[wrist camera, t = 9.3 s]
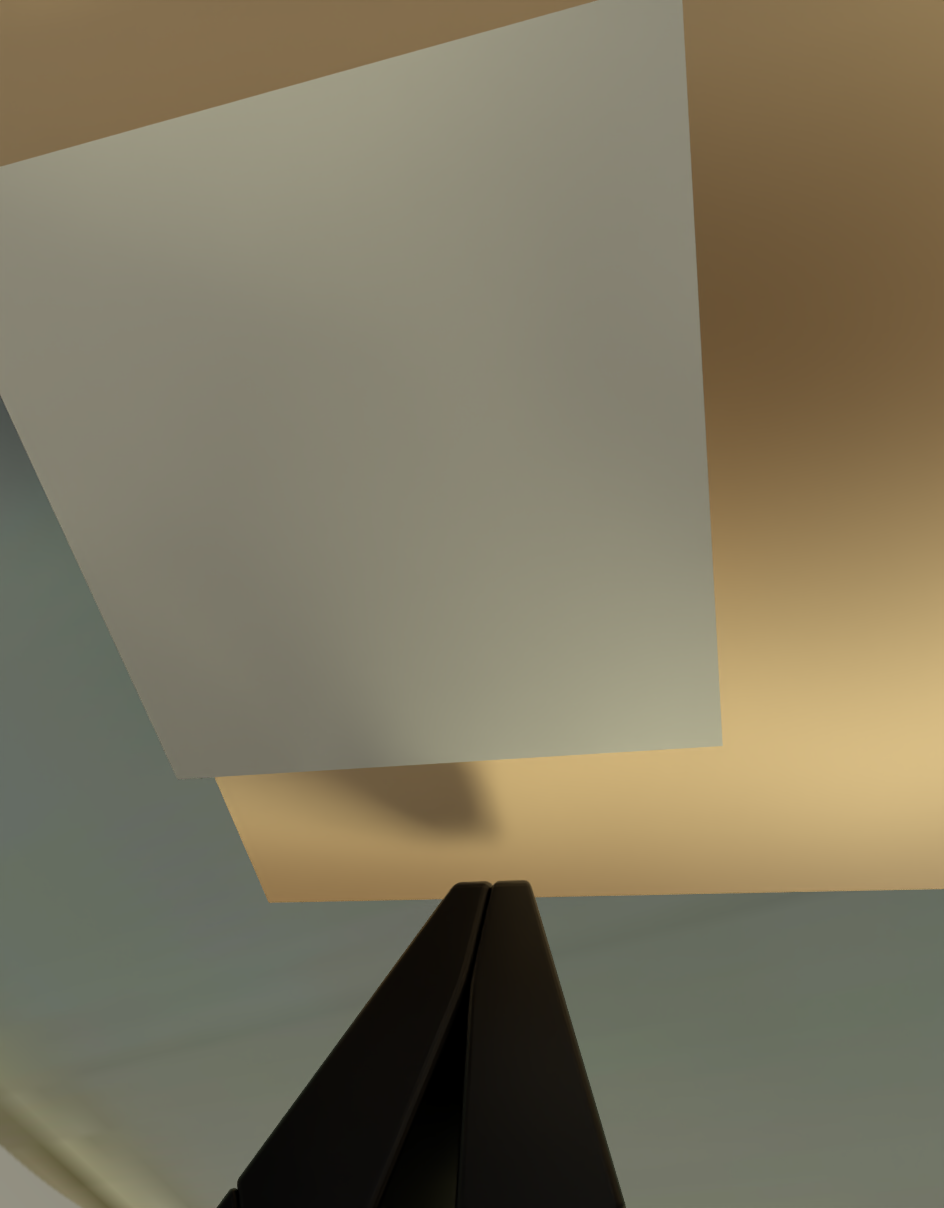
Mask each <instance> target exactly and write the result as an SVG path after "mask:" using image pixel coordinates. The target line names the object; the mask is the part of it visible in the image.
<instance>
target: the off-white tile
mask: <svg viewBox="0 0 944 1208" xmlns="http://www.w3.org/2000/svg"><path fill="white" fill-rule="evenodd" d="M0 396H1V398H2V400H3V402H4V404H5V407H6V409H7V411H8V413H9V415H10V417H11V420H12V422H13V424H14V426H15V428H16V430H17V433H18V435H19V437H20V439H21V441H22V443H23V446H24V448H25V450H26V452H27V454H28V456H29V459H30V461H31V463H32V465H33V467H34V469H35V472H36V474H37V476H38V478H39V480H40V482H41V485H42V487H43V489H44V491H45V493H46V495H47V498H48V500H49V502H50V504H51V506H52V508H53V511H54V513H55V515H56V517H57V519H58V521H59V524H60V526H61V528H62V530H63V532H64V534H65V537H66V539H67V541H68V543H69V545H70V547H71V550H72V552H73V554H74V556H75V558H76V560H77V563H78V565H79V567H80V569H81V571H82V573H83V576H84V578H85V580H86V582H87V584H88V586H89V589H90V591H91V593H92V595H93V597H94V599H95V602H96V604H97V606H98V608H99V610H100V612H101V615H102V617H103V619H104V621H105V623H106V625H107V628H108V630H109V632H110V634H111V636H112V638H113V641H114V643H115V645H116V647H117V649H118V651H119V654H120V656H121V658H122V660H123V662H124V664H125V667H126V669H127V671H128V673H129V675H130V677H131V680H132V682H133V684H134V686H135V688H136V690H137V693H138V695H139V697H140V699H141V701H142V703H143V706H144V708H145V710H146V712H147V714H148V716H149V719H150V721H151V723H152V725H153V727H154V729H155V732H156V734H157V736H158V738H159V740H160V742H161V745H162V747H163V749H164V751H165V753H166V756H167V758H168V760H169V762H170V764H171V766H172V769H173V771H174V773H175V775H176V777H177V779H193V778H209V777H225V776H242V775H258V774H274V773H291V772H307V771H323V770H340V769H356V768H372V767H389V766H405V765H421V764H437V763H454V762H470V761H486V760H503V759H519V758H535V757H552V756H568V755H584V754H601V753H617V752H633V751H649V750H666V749H682V748H698V747H715V746H723V743H722V724H721V706H720V688H719V669H718V651H717V632H716V614H715V595H714V577H713V558H712V540H711V521H710V503H709V484H708V466H707V447H706V429H705V410H704V392H703V373H702V355H701V336H700V318H699V299H698V281H697V263H696V244H695V226H694V207H693V189H692V170H691V152H690V133H689V115H688V96H687V78H686V59H685V41H684V22H683V4H682V0H597V1H593V2H590V3H586V4H583V5H579V6H575V7H572V8H568V9H565V10H561V11H558V12H554V13H550V14H547V15H543V16H540V17H536V18H532V19H529V20H525V21H522V22H518V23H514V24H511V25H507V26H504V27H500V28H496V29H493V30H489V31H486V32H482V33H479V34H475V35H471V36H468V37H464V38H461V39H457V40H453V41H450V42H446V43H443V44H439V45H435V46H432V47H428V48H425V49H421V50H417V51H414V52H410V53H407V54H403V55H400V56H396V57H392V58H389V59H385V60H382V61H378V62H374V63H371V64H367V65H364V66H360V67H356V68H353V69H349V70H346V71H342V72H339V73H335V74H331V75H328V76H324V77H321V78H317V79H313V80H310V81H306V82H303V83H299V84H295V85H292V86H288V87H285V88H281V89H277V90H274V91H270V92H267V93H263V94H260V95H256V96H252V97H249V98H245V99H242V100H238V101H234V102H231V103H227V104H224V105H220V106H216V107H213V108H209V109H206V110H202V111H198V112H195V113H191V114H188V115H184V116H181V117H177V118H173V119H170V120H166V121H163V122H159V123H155V124H152V125H148V126H145V127H141V128H137V129H134V130H130V131H127V132H123V133H120V134H116V135H112V136H109V137H105V138H102V139H98V140H94V141H91V142H87V143H84V144H80V145H76V146H73V147H69V148H66V149H62V150H58V151H55V152H51V153H48V154H44V155H41V156H37V157H33V158H30V159H26V160H23V161H19V162H15V163H12V164H8V165H5V166H1V167H0Z"/></svg>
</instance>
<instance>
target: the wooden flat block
mask: <svg viewBox="0 0 944 1208" xmlns="http://www.w3.org/2000/svg"><path fill="white" fill-rule="evenodd" d="M593 1H597V0H0V167H1V166H5V165H8V164H12V163H15V162H19V161H23V160H26V159H30V158H33V157H37V156H41V155H44V154H48V153H51V152H55V151H58V150H62V149H66V148H69V147H73V146H76V145H80V144H84V143H87V142H91V141H94V140H98V139H102V138H105V137H109V136H112V135H116V134H120V133H123V132H127V131H130V130H134V129H137V128H141V127H145V126H148V125H152V124H155V123H159V122H163V121H166V120H170V119H173V118H177V117H181V116H184V115H188V114H191V113H195V112H198V111H202V110H206V109H209V108H213V107H216V106H220V105H224V104H227V103H231V102H234V101H238V100H242V99H245V98H249V97H252V96H256V95H260V94H263V93H267V92H270V91H274V90H277V89H281V88H285V87H288V86H292V85H295V84H299V83H303V82H306V81H310V80H313V79H317V78H321V77H324V76H328V75H331V74H335V73H339V72H342V71H346V70H349V69H353V68H356V67H360V66H364V65H367V64H371V63H374V62H378V61H382V60H385V59H389V58H392V57H396V56H400V55H403V54H407V53H410V52H414V51H417V50H421V49H425V48H428V47H432V46H435V45H439V44H443V43H446V42H450V41H453V40H457V39H461V38H464V37H468V36H471V35H475V34H479V33H482V32H486V31H489V30H493V29H496V28H500V27H504V26H507V25H511V24H514V23H518V22H522V21H525V20H529V19H532V18H536V17H540V16H543V15H547V14H550V13H554V12H558V11H561V10H565V9H568V8H572V7H575V6H579V5H583V4H586V3H590V2H593ZM682 4H683V22H684V41H685V59H686V78H687V96H688V115H689V133H690V152H691V170H692V189H693V207H694V226H695V244H696V263H697V281H698V299H699V318H700V336H701V355H702V373H703V392H704V410H705V429H706V447H707V466H708V484H709V503H710V521H711V540H712V558H713V577H714V595H715V614H716V632H717V651H718V669H719V688H720V706H721V724H722V743H723V746H715V747H698V748H682V749H666V750H649V751H633V752H617V753H601V754H584V755H568V756H552V757H535V758H519V759H503V760H486V761H470V762H454V763H437V764H421V765H405V766H389V767H372V768H356V769H340V770H323V771H307V772H291V773H274V774H258V775H242V776H225V777H215V779H216V782H217V784H218V786H219V789H220V791H221V793H222V795H223V798H224V800H225V802H226V805H227V807H228V809H229V812H230V814H231V816H232V819H233V821H234V823H235V825H236V828H237V830H238V832H239V835H240V837H241V839H242V842H243V844H244V846H245V849H246V851H247V853H248V856H249V858H250V860H251V862H252V865H253V867H254V869H255V872H256V874H257V876H258V879H259V881H260V883H261V886H262V888H263V890H264V892H265V895H266V897H267V899H268V902H269V903H273V902H323V901H372V900H421V899H444V897H445V896H446V894H447V893H448V892H449V890H450V889H451V888H452V887H453V886H454V885H455V884H457V883H459V882H474V881H487V882H490V883H491V884H492V885H493V884H494V883H495V882H497V881H506V880H527V881H528V882H529V883H530V884H531V886H532V890H533V893H534V896H535V897H569V896H618V895H667V894H717V893H766V892H815V891H864V890H914V889H944V0H682Z"/></svg>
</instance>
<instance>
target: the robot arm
mask: <svg viewBox="0 0 944 1208" xmlns="http://www.w3.org/2000/svg"><path fill="white" fill-rule="evenodd" d="M237 1189H238V1190H237ZM237 1189H236V1188H232V1189H230V1190H229V1192H228V1193H227V1194H226V1196H225V1197H224V1199H223V1200H222V1201H221V1203H220V1204H219V1205H218V1207H217V1208H626V1206H625V1202H624V1198H623V1195H622V1192H621V1188H620V1185H619V1182H618V1178H617V1175H616V1171H615V1168H614V1165H613V1161H612V1158H611V1154H610V1151H609V1148H608V1144H607V1141H606V1137H605V1134H604V1131H603V1127H602V1124H601V1120H600V1117H599V1114H598V1110H597V1107H596V1103H595V1100H594V1097H593V1093H592V1090H591V1086H590V1083H589V1080H588V1076H587V1073H586V1070H585V1066H584V1063H583V1059H582V1056H581V1053H580V1049H579V1046H578V1042H577V1039H576V1036H575V1032H574V1029H573V1025H572V1022H571V1019H570V1015H569V1012H568V1008H567V1005H566V1002H565V998H564V995H563V991H562V988H561V985H560V981H559V978H558V974H557V971H556V968H555V964H554V961H553V957H552V954H551V951H550V947H549V944H548V941H547V937H546V934H545V930H544V927H543V924H542V920H541V917H540V913H539V910H538V907H537V903H536V900H535V896H534V893H533V890H532V886H531V884H530V883H529V882H528V881H527V880H506V881H497V882H495V883H494V884H493V885H492V884H491V883H490V882H487V881H474V882H459V883H457V884H455V885H454V886H453V887H452V888H451V889H450V890H449V892H448V893H447V894H446V896H445V897H444V899H443V900H442V901H441V903H440V904H439V905H438V907H437V908H436V910H435V911H434V912H433V914H432V915H431V916H430V918H429V919H428V920H427V922H426V923H425V925H424V926H423V927H422V929H421V930H420V931H419V933H418V934H417V935H416V937H415V938H414V940H413V941H412V942H411V944H410V945H409V946H408V948H407V949H406V950H405V952H404V953H403V955H402V956H401V957H400V959H399V960H398V961H397V963H396V964H395V966H394V967H393V968H392V970H391V971H390V972H389V974H388V975H387V976H386V978H385V979H384V981H383V982H382V983H381V985H380V986H379V987H378V989H377V990H376V991H375V993H374V994H373V996H372V997H371V998H370V1000H369V1001H368V1002H367V1004H366V1005H365V1006H364V1008H363V1009H362V1011H361V1012H360V1013H359V1015H358V1016H357V1017H356V1019H355V1020H354V1022H353V1023H352V1024H351V1026H350V1027H349V1028H348V1030H347V1031H346V1032H345V1034H344V1035H343V1037H342V1038H341V1039H340V1041H339V1042H338V1043H337V1045H336V1046H335V1047H334V1049H333V1050H332V1052H331V1053H330V1054H329V1056H328V1057H327V1058H326V1060H325V1061H324V1062H323V1064H322V1065H321V1067H320V1068H319V1069H318V1071H317V1072H316V1073H315V1075H314V1076H313V1078H312V1079H311V1080H310V1082H309V1083H308V1084H307V1086H306V1087H305V1088H304V1090H303V1091H302V1093H301V1094H300V1095H299V1097H298V1098H297V1099H296V1101H295V1102H294V1103H293V1105H292V1106H291V1108H290V1109H289V1110H288V1112H287V1113H286V1114H285V1116H284V1117H283V1118H282V1120H281V1121H280V1123H279V1124H278V1125H277V1127H276V1128H275V1129H274V1131H273V1132H272V1134H271V1135H270V1136H269V1138H268V1139H267V1140H266V1142H265V1143H264V1144H263V1146H262V1147H261V1149H260V1150H259V1151H258V1153H257V1154H256V1155H255V1157H254V1158H253V1159H252V1161H251V1162H250V1164H249V1165H248V1166H247V1168H246V1169H245V1170H244V1172H243V1173H242V1174H241V1176H240V1177H239V1179H238V1181H237Z"/></svg>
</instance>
